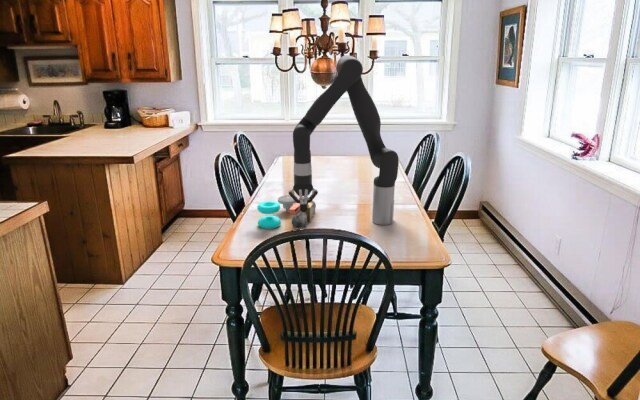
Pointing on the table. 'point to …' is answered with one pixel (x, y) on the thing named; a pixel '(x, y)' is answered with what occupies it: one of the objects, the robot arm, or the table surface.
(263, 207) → the donuts
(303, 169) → the robot arm
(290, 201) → the showerhead
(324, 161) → the table surface
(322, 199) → the table surface
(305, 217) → the valve body
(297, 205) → the lever
